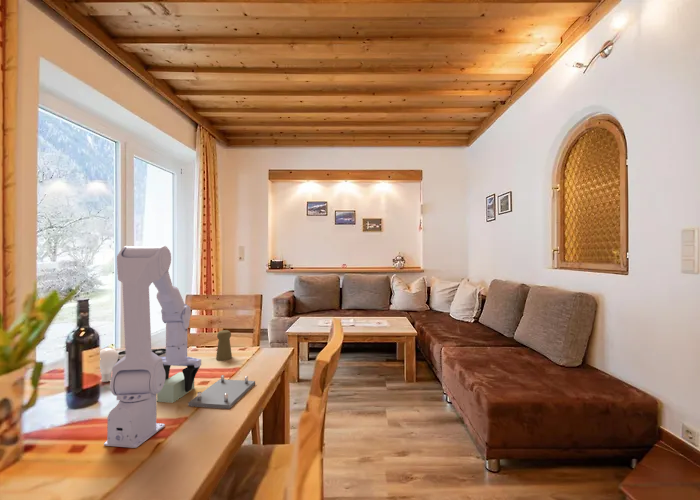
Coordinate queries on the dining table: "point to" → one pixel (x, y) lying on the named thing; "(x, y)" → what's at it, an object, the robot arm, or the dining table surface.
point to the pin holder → (222, 393)
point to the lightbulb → (107, 363)
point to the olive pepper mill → (224, 346)
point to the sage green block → (173, 389)
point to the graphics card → (159, 352)
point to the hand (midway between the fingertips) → (176, 389)
